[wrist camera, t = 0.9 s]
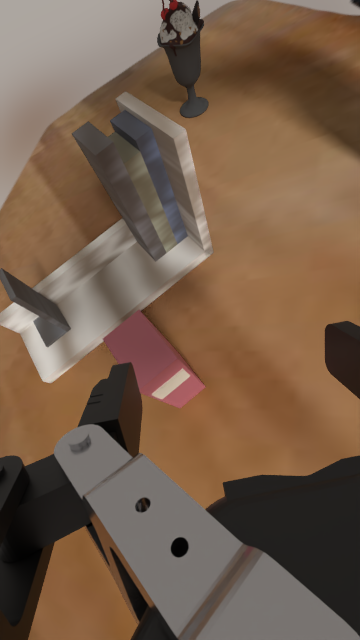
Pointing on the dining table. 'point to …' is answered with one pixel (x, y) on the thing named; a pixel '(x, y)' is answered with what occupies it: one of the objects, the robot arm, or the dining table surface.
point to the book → (153, 361)
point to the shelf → (117, 241)
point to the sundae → (183, 50)
